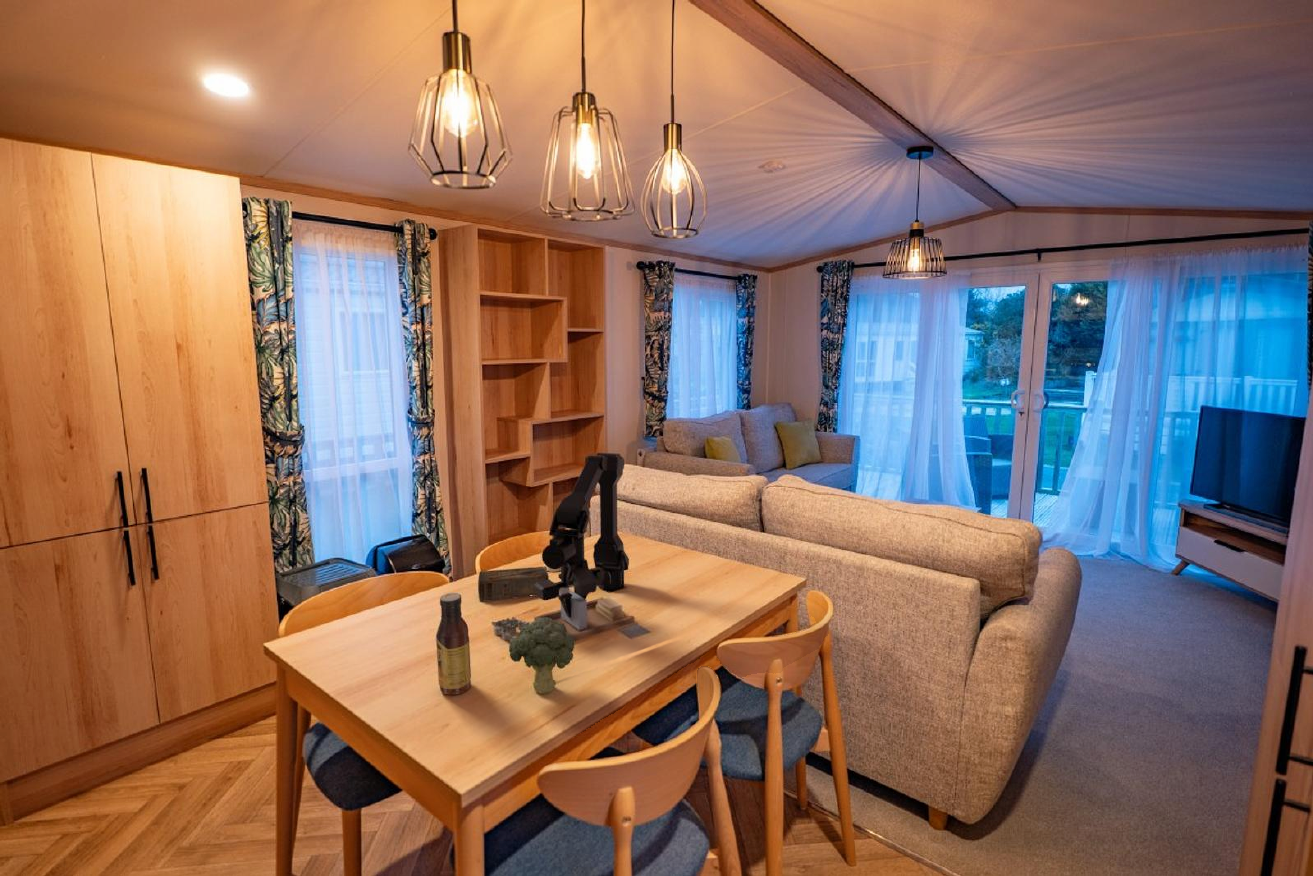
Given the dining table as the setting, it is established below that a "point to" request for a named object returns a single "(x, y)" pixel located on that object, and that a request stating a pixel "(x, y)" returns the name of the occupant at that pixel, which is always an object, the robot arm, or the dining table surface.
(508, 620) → the grey lumpy clump
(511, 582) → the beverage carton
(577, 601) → the board
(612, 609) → the offcut upper
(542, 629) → the vegetable
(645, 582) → the dining table surface
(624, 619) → the tray
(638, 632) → the mat
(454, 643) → the sauce bottle
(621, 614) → the offcut lower
